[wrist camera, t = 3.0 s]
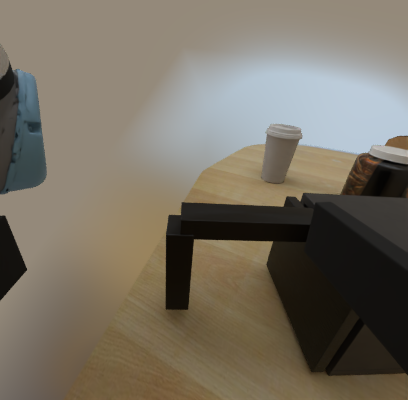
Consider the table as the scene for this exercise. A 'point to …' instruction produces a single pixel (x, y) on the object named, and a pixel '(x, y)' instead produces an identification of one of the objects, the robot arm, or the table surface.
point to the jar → (379, 173)
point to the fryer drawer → (277, 264)
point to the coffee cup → (279, 151)
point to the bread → (398, 142)
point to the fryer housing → (360, 334)
